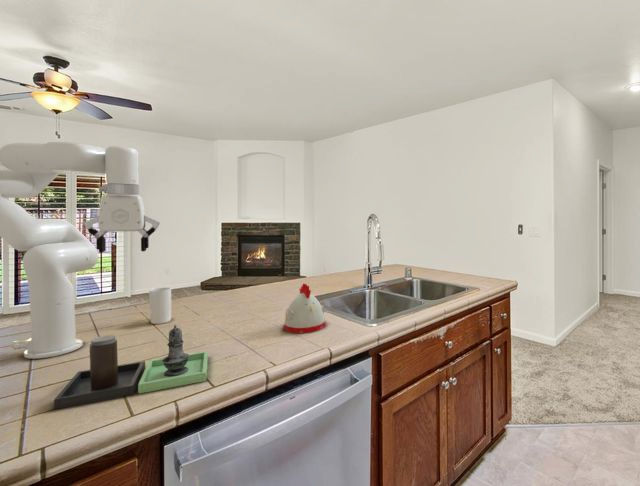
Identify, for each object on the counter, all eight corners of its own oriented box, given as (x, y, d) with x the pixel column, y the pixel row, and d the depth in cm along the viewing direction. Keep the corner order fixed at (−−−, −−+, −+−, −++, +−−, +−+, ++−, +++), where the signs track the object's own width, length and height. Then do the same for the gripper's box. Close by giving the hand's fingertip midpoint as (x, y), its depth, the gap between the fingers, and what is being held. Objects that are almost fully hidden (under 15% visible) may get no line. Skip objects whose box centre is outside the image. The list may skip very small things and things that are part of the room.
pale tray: (138, 393, 83) (138, 384, 83) (149, 368, 96) (149, 360, 96) (206, 380, 89) (205, 372, 89) (207, 358, 102) (207, 351, 102)
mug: (172, 321, 134) (172, 289, 134) (150, 325, 130) (150, 292, 130) (169, 315, 142) (168, 284, 142) (148, 318, 138) (147, 287, 138)
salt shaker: (194, 366, 95) (193, 321, 95) (181, 377, 89) (180, 328, 89) (171, 366, 95) (170, 321, 95) (157, 377, 89) (155, 329, 89)
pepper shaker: (87, 391, 82) (86, 343, 82) (94, 382, 87) (93, 336, 86) (115, 386, 85) (113, 340, 84) (120, 377, 89) (119, 333, 89)
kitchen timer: (292, 335, 120) (292, 290, 119) (279, 324, 131) (278, 283, 130) (331, 327, 128) (331, 284, 127) (315, 317, 139) (315, 278, 138)
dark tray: (54, 409, 76) (53, 399, 76) (78, 379, 89) (78, 371, 89) (133, 394, 82) (133, 385, 82) (145, 368, 95) (145, 360, 95)
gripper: (78, 189, 96) (79, 254, 97) (156, 191, 103) (157, 251, 104) (88, 190, 103) (89, 251, 103) (161, 192, 110) (161, 248, 111)
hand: (123, 251), depth 104 cm, fingers open, 9 cm apart
